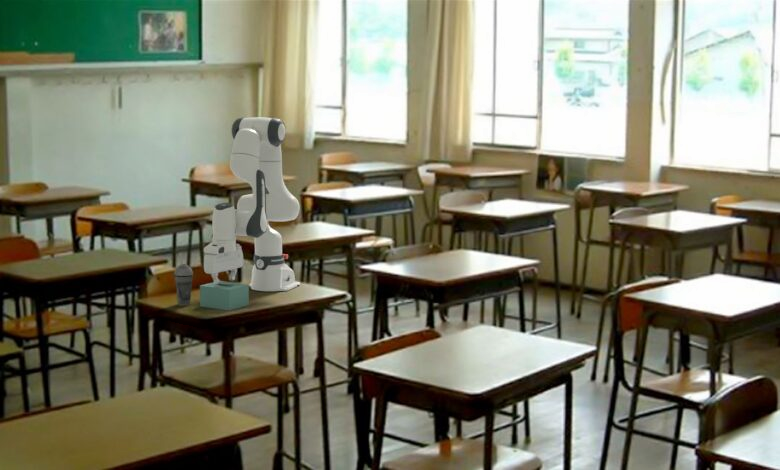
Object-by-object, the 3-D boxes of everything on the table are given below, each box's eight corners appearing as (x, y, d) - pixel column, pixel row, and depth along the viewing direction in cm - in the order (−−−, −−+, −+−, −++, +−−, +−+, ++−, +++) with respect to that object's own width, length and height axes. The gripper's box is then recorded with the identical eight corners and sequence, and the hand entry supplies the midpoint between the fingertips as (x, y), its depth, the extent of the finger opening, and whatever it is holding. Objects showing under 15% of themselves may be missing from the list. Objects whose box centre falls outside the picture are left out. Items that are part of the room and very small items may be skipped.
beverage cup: (191, 306, 458) (191, 254, 455) (172, 306, 458) (171, 254, 455) (195, 302, 465) (194, 251, 462) (176, 302, 465) (175, 251, 462)
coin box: (219, 300, 469) (219, 280, 468) (248, 305, 462) (248, 284, 461) (200, 306, 459) (199, 285, 458) (229, 310, 452) (229, 289, 451)
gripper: (234, 242, 468) (234, 277, 470) (200, 249, 450) (201, 285, 452) (247, 243, 465) (247, 278, 467) (214, 250, 447) (214, 287, 449)
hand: (224, 282), depth 459 cm, fingers open, 8 cm apart
